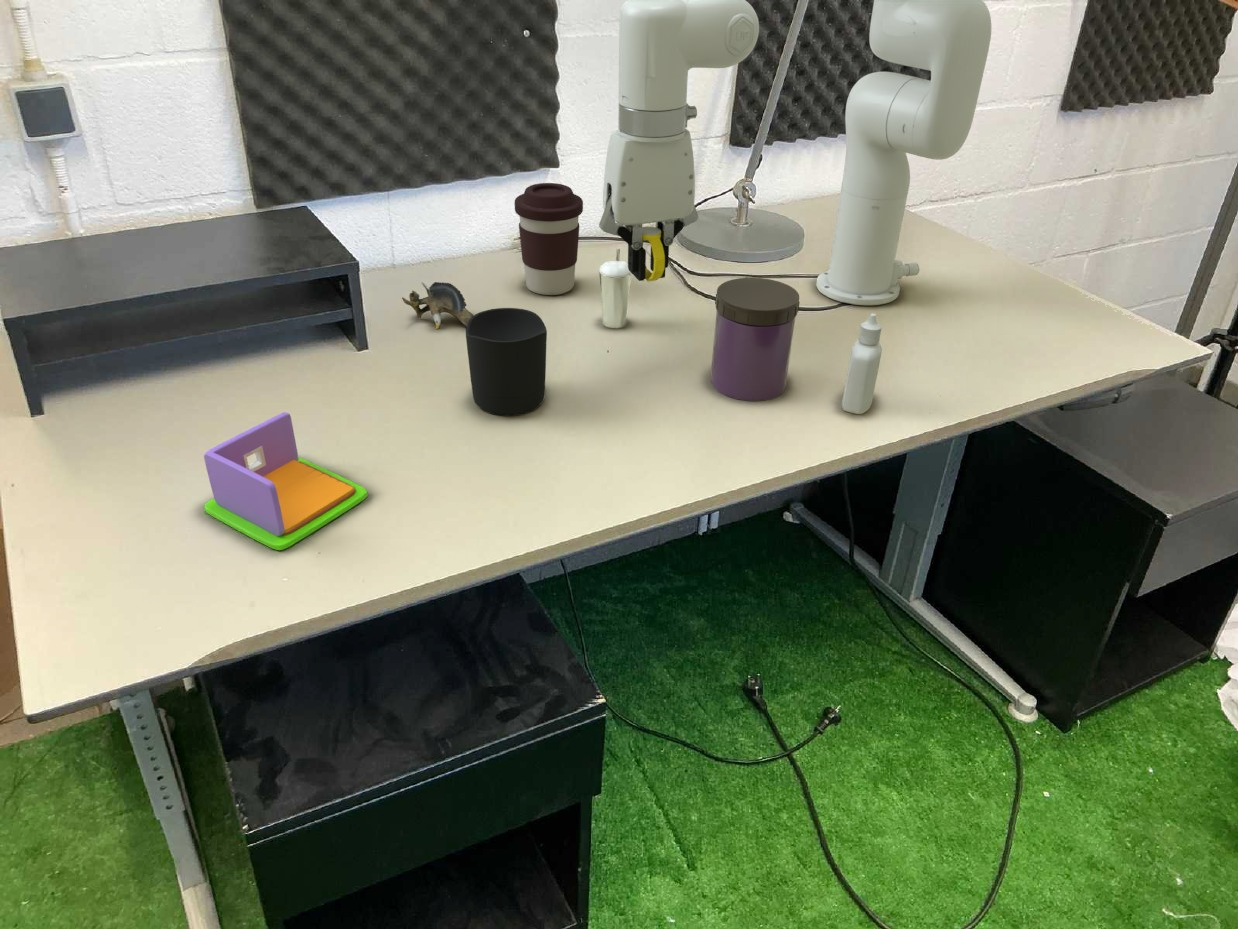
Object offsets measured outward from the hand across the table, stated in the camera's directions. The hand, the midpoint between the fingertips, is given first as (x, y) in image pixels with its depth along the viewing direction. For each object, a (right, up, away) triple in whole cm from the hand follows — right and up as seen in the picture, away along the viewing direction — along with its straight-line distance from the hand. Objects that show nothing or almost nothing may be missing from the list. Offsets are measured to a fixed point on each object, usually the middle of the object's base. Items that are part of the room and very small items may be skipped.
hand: (647, 274), depth 117 cm
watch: (0, 0, 0) cm, 1 cm away
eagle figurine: (-28, -4, +18) cm, 33 cm away
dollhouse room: (-37, -27, -19) cm, 50 cm away
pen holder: (-17, -16, 0) cm, 23 cm away
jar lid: (+13, -3, -1) cm, 14 cm away
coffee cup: (-14, +4, +30) cm, 33 cm away
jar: (+13, -13, +5) cm, 19 cm away
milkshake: (-4, -3, +19) cm, 20 cm away
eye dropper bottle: (+26, -16, +1) cm, 30 cm away
